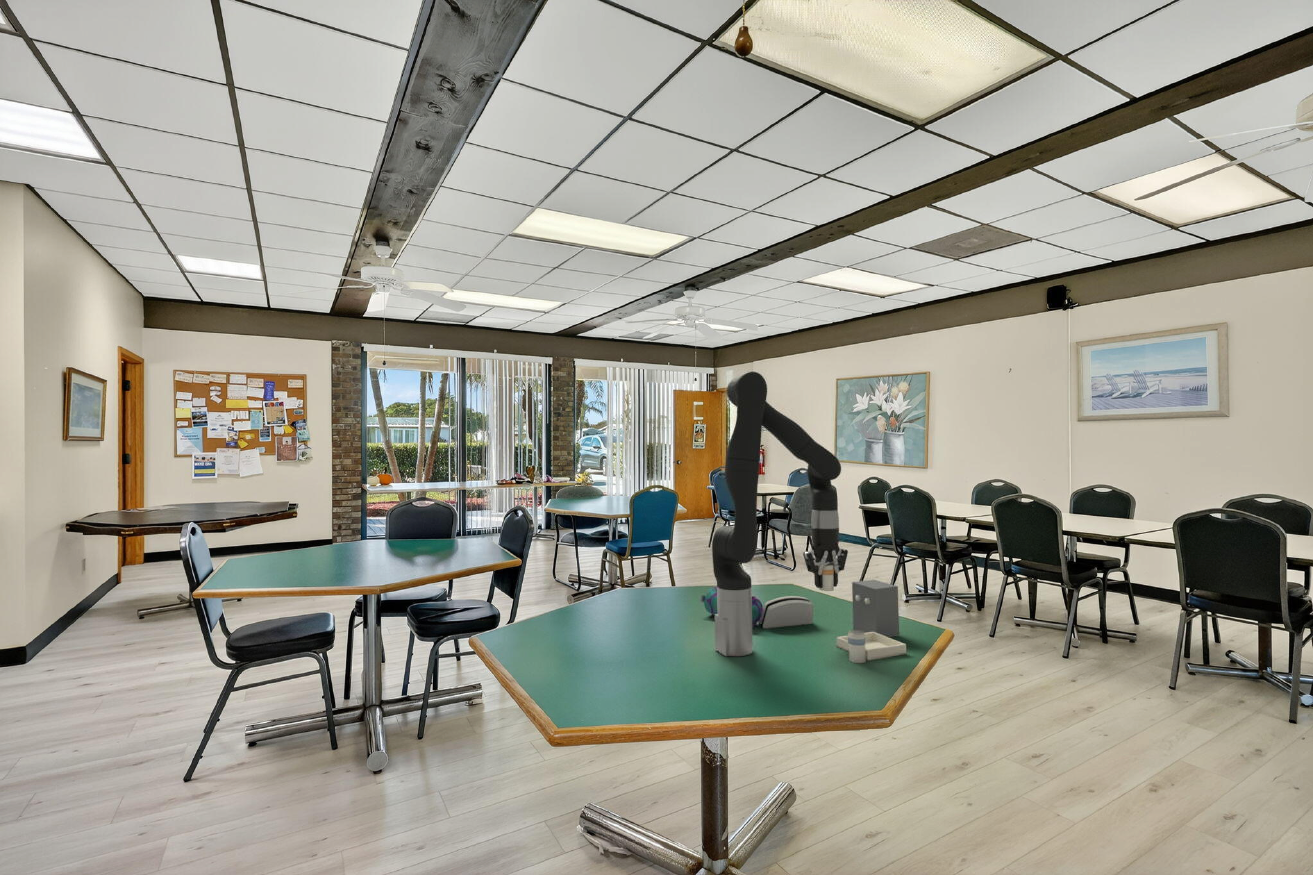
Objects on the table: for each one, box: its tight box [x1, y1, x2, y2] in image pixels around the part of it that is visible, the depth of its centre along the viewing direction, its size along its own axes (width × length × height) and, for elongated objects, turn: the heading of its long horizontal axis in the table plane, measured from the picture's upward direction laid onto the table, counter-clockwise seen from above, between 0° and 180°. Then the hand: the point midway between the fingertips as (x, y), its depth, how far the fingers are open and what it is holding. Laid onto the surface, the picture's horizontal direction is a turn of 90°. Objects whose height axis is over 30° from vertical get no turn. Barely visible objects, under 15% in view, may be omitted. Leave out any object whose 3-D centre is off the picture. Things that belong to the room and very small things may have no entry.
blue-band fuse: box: [847, 630, 867, 664], centre depth 155 cm, size 4×4×7 cm
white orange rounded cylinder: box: [818, 562, 835, 592], centre depth 173 cm, size 4×4×7 cm
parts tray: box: [836, 632, 907, 662], centre depth 163 cm, size 12×12×2 cm
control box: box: [851, 579, 900, 638], centre depth 179 cm, size 9×10×14 cm
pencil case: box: [700, 585, 764, 628], centre depth 194 cm, size 21×9×10 cm, turn 34°
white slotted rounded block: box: [757, 595, 814, 629], centre depth 188 cm, size 17×5×10 cm, turn 105°
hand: (826, 586), depth 173 cm, fingers closed on white orange rounded cylinder, 4 cm apart
